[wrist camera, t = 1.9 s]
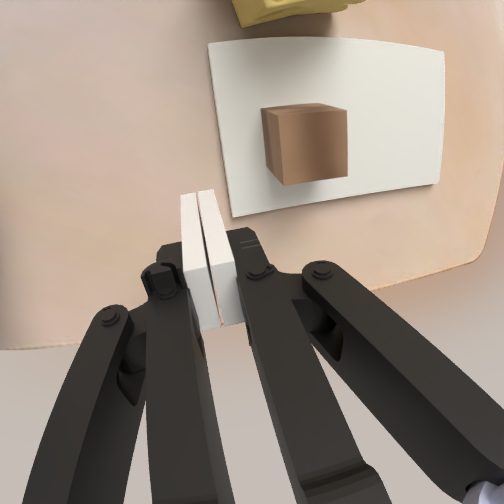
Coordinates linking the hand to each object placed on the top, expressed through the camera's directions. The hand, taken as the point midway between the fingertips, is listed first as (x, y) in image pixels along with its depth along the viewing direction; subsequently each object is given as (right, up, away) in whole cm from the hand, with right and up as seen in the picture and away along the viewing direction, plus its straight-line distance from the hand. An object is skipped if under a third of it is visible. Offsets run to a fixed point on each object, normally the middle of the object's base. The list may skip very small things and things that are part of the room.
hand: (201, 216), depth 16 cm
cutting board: (+13, +13, +15) cm, 24 cm away
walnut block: (+6, +10, +14) cm, 18 cm away
